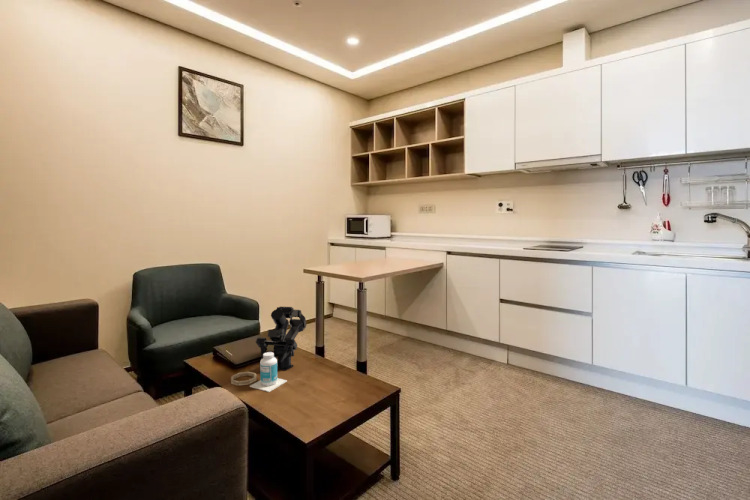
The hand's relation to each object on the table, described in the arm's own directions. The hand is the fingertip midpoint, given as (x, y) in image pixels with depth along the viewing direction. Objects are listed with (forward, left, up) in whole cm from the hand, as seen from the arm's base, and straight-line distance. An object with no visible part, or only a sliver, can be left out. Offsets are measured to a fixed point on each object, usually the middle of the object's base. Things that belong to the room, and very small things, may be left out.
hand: (271, 360), depth 170 cm
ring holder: (+5, -12, -9) cm, 16 cm away
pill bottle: (+3, +1, -9) cm, 10 cm away
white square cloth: (+3, +1, -9) cm, 10 cm away
